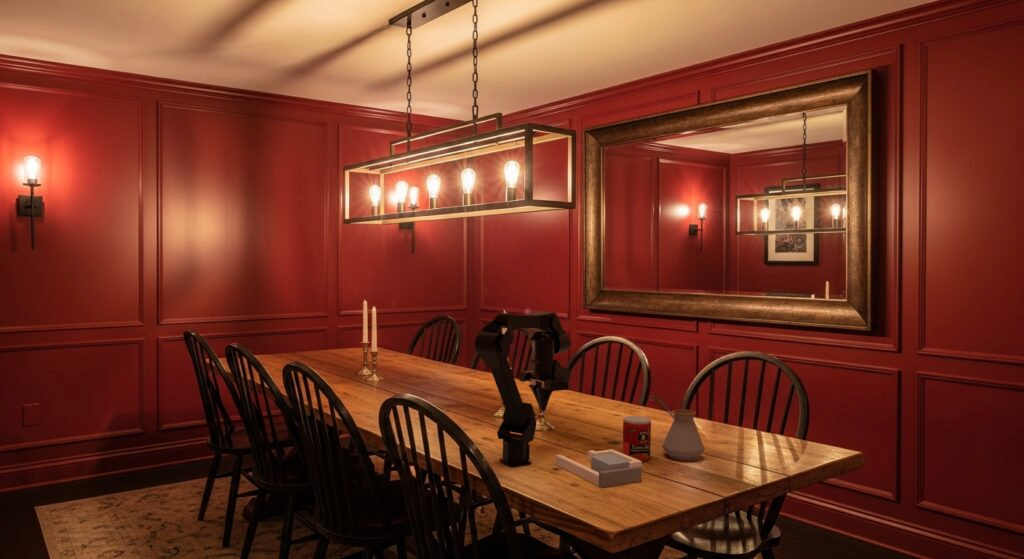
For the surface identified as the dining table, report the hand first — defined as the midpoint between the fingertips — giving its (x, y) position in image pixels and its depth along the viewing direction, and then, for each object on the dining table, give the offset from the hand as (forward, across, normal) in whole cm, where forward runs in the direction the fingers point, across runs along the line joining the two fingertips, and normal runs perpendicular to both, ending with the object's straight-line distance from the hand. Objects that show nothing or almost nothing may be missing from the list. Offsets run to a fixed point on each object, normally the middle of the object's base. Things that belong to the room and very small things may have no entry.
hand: (543, 410), depth 203 cm
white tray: (+12, -23, -6) cm, 26 cm away
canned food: (+12, -16, -21) cm, 29 cm away
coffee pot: (+12, -16, -34) cm, 40 cm away
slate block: (+12, -28, -3) cm, 31 cm away
